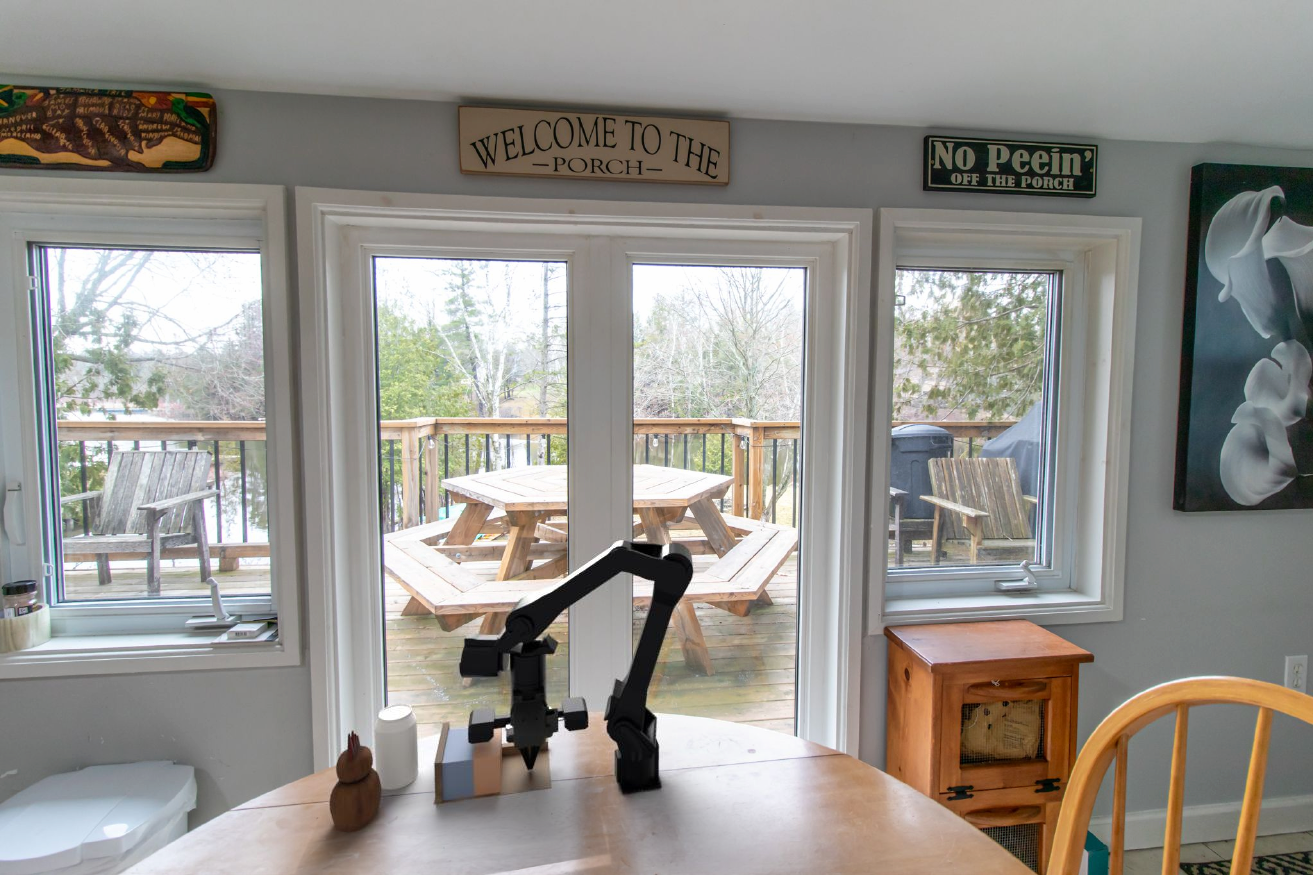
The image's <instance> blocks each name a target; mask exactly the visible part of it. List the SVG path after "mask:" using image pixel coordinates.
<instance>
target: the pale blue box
mask: <svg viewBox="0 0 1313 875" xmlns="http://www.w3.org/2000/svg"><path fill="white" fill-rule="evenodd" d="M474 746H475V744H470V743H468V727H462V728H453V729H450V730H448V735H447V740H446V745H445V750H444V755H443V760H442V789H443V801H445V800H452V799H459V798H466V797H473V796H474V783H473V754H474Z"/></svg>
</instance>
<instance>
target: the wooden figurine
mask: <svg viewBox="0 0 1313 875" xmlns="http://www.w3.org/2000/svg"><path fill="white" fill-rule="evenodd" d="M354 731H355V730H351V733H349V732H348V733H347V749H345V750H344V751H342V752H341V754H340V755H339V756H338V759H337V762H336V764H335V771H336V777H337V779H338V781H337V782H336V783H335V785H334V787H333V788H332V790H331V794H330V797H329V811H330V815H331V818H332V822H333V824H334V826H335V827H336V828H337V829H338V830H340V831H341V832H347V833H349V832H355V831H358V830H360V829H363V828H364V827H366V826H368V824H370V823H371V822H372V821H373V820H374V819H375V817H376V815H377V812H378V809H379V806H380V802H381V799H382V788H381V783H380V778H379V775H378V773H377V772H376V769H375V768H373V762H374V759H373V753H372V750H371V749H370V748H369V747H368V746H367V745H361V742H360V736H359V735H357V733H355V732H354Z"/></svg>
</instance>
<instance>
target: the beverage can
mask: <svg viewBox="0 0 1313 875" xmlns="http://www.w3.org/2000/svg"><path fill="white" fill-rule="evenodd" d="M373 728H374V731H373V732H374V749H375V750H374V754H375V756H374V757H375V771H376V772H377V773H378V775H379V778H380V783H381V790H382V789H383V790H390V791H391V790H392V791H393V790H398V789H401V788H403V787H406V786H408V785H410V784H412V782H414V781H415V780H416V778H417V777H418V775H419V751H418V750H419V748H418V746H419V745H418V720H417V716H416V714H415V713H414V711H413V707H412V706H411V705H410V704H407V703H396V704H395V703H394V704H391V705H388V706H386V707H384V708H382V709H381V710H380V711H379V712H378V717H377V719H376V721H375V724H374V727H373Z"/></svg>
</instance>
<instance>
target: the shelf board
mask: <svg viewBox="0 0 1313 875" xmlns="http://www.w3.org/2000/svg"><path fill="white" fill-rule="evenodd" d="M448 730H451V728H450V722H449V721H448V722H447V721H446V722H443V723H442V727H441V730H440V735H439V739H438V744H437V748H436V752H435V754H436V755H435V758H434V763H433V765H434V766H433V767H434V768H433V769H434V772H433V773H434V800H433V806H435V805H441V804H448V803H454V802H462V801H469V800H470V801H471V800H476V799H482V798H490V797H496V796H502V795H503V796H504V795H510V794H512V795H513V794H520V793H525V792H533V791H538V790H545V789H547V790H548V789H552V777H551V768H550V764H551V763H550V754H549V738H546V742H545V744H543V745H542V746H541V747H540V749H539V752H538V755H537V758H536V761H535V764H534V767H533V769H532V770H528V769H527V767H526V765H525V762H524V760H523V757H522V755H521V752H520V750H519V749H518V748H516V747H515V746H514V743H508V742H506V743H502V771H501V792H498V793H491V794H484V795H476V796H473V797H466V798H459V799H452V800H445V801H443V789H442V760H443V755H444V750H445V745H446V740H447V735H448ZM530 750H531V746H529V753H530Z"/></svg>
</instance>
